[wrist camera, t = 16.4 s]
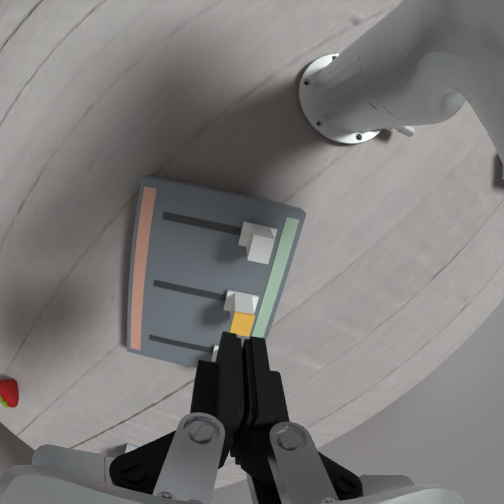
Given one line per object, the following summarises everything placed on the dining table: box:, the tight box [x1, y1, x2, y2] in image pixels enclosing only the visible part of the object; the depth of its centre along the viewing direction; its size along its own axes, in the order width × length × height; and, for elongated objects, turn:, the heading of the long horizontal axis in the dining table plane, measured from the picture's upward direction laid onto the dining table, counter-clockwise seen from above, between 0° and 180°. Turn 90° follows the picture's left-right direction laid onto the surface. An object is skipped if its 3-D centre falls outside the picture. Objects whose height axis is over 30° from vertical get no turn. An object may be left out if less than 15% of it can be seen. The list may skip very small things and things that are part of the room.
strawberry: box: [0, 379, 19, 408], centre depth 41 cm, size 6×8×10 cm
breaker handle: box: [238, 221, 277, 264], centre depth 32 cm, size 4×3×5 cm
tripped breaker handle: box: [224, 290, 259, 337], centre depth 34 cm, size 4×3×5 cm
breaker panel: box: [127, 175, 306, 367], centre depth 38 cm, size 20×26×3 cm
